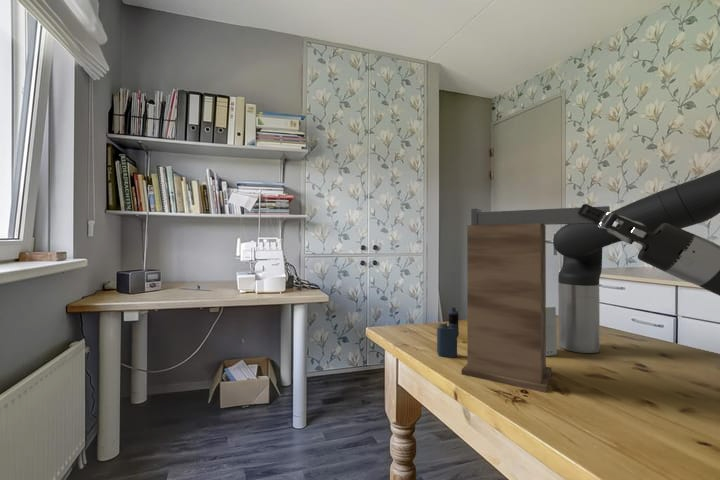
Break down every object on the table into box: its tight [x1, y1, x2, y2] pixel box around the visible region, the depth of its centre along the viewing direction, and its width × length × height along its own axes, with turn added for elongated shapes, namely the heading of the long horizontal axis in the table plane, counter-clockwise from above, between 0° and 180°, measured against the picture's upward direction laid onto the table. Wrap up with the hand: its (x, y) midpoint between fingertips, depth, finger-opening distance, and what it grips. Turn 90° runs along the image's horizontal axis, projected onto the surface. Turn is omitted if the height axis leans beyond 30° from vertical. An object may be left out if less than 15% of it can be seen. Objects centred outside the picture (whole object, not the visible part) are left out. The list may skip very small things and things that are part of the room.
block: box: [470, 205, 611, 226], centre depth 71 cm, size 4×25×4 cm, turn 56°
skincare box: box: [546, 305, 558, 357], centre depth 88 cm, size 6×4×12 cm
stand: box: [461, 223, 553, 393], centre depth 74 cm, size 12×16×32 cm
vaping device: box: [436, 307, 460, 358], centre depth 85 cm, size 3×5×12 cm, turn 79°
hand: (581, 210), depth 66 cm, fingers open, 7 cm apart
